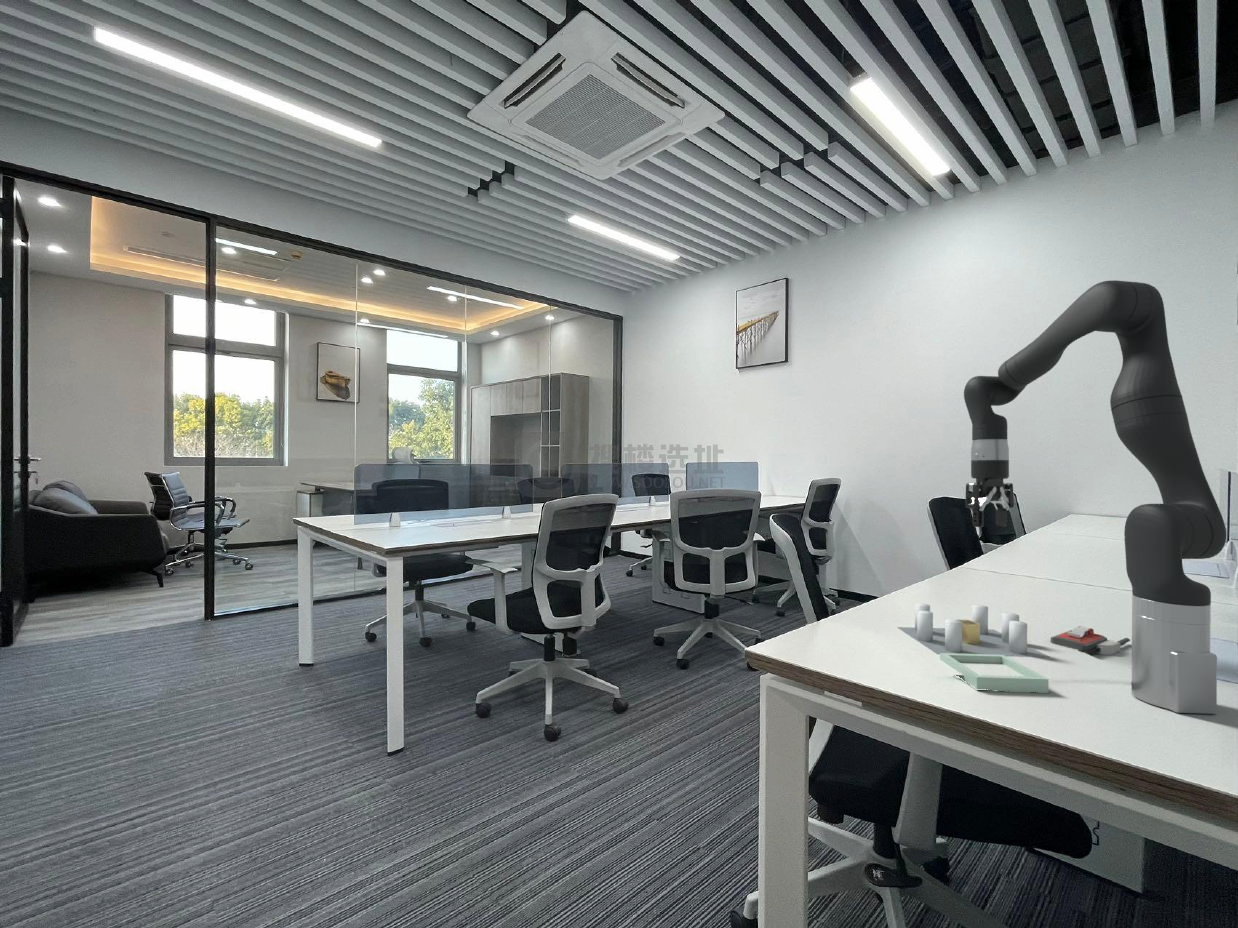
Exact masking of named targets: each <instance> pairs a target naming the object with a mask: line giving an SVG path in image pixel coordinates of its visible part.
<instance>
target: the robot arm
mask: <svg viewBox="0 0 1238 928" xmlns="http://www.w3.org/2000/svg"><path fill="white" fill-rule="evenodd" d="M1094 332H1102V333H1113V334H1115V335H1116V337H1117V340H1118V342H1119V346H1120V351H1121V355H1122V365H1121V369H1120V373H1119V374H1118V377H1117V378H1116V381H1115V383H1114V385H1113V388H1112V391H1111V394H1110V399H1109V400H1110V401H1109V404H1110V411H1111V415H1112V419H1113V423H1114V427H1115V428H1114V429H1115V432H1116V435H1117V436H1118V438H1119V440H1120V441H1121V443H1122V444H1123V445H1124V446H1125V447H1126V449H1127V450H1128V451H1129V452H1130V453H1131V454H1132V455H1133V456H1134V457H1135V458H1136V459H1137V460H1138V461H1139V462H1140V464H1142V465H1143V466H1144V467H1145V469H1146V470H1147V472H1149V474H1150V475H1151V476H1152V478H1153V479H1154V481H1155V482H1156V484H1157V487H1158V490H1159V493H1160V496H1161V499H1162V503H1145V504H1144V503H1143V504H1140V505H1137V506H1136V507H1134V508H1133V509H1132V510H1131V511H1130V512H1129V513H1128V515H1127V518H1126V521H1125V525H1124V551H1125V565H1126V566H1125V567H1126V568H1125V569H1126V574H1127V577H1128V580H1129V582H1130V584H1131V587H1132V588H1131V589H1132V590H1131V592H1132V593H1131V597H1132V599H1131V604H1132V605H1131V610H1132V611H1131V694H1132V696H1133V697H1135V698H1137V699H1138V700H1140V701H1142V702H1145V703H1148V704H1151V705H1153V706H1156V707H1160V708H1164V709H1166V710H1171V711H1173V712H1174V713H1177V714H1178V713H1181V714H1184V713H1185V714H1205V715H1206V714H1207V715H1209V714H1210V715H1217V712H1218V711H1217V703H1218V702H1217V701H1218V699H1217V698H1218V697H1217V696H1218V695H1217V693H1218V692H1217V690H1218V686H1217V685H1218V657H1217V655H1216V653H1213V652H1211V620H1212V619H1211V617H1212V616H1211V614H1212V613H1211V612H1212V611H1211V609H1212V608H1211V603H1212V593H1211V590H1210V587H1208V586H1207V585H1206V584H1203V583H1201V582H1198V581H1195V580H1193V579H1191V578H1190V577H1188V576H1187V575H1186V574H1185V570H1184V565H1183V560H1204V559H1210V558H1214V557H1215V556H1217V555H1218V554H1220V553H1221V552H1222V551H1223V549H1224V547H1225V545H1226V540H1227V528H1226V524H1225V521H1224V518H1223V515H1222V513H1221V510H1220V508H1219V506H1218V503H1217V501H1216V499H1215V496H1214V494H1213V491H1212V490H1211V487H1210V485H1209V482H1208V480H1207V478H1206V476H1205V472H1204V470H1203V466H1202V463H1201V460H1200V457H1199V454H1198V452H1197V451H1198V450H1197V448H1196V444H1195V441H1194V438H1193V435H1192V432H1191V427H1190V422H1189V418H1188V414H1187V409H1186V406H1185V403H1184V399H1183V394H1182V392H1181V389H1180V386H1179V384H1178V380H1177V376H1176V371H1175V367H1174V366H1175V365H1174V362H1173V358H1172V355H1171V351H1170V345H1169V339H1168V329H1167V321H1166V311H1165V305H1164V301H1163V297H1162V295H1161V292H1160V291H1159V290H1158V289H1157V288H1156V287H1155V286H1153V285H1151V284H1149V283H1146V282H1137V281H1127V280H1115V279H1114V280H1103V281H1100V282H1098V283H1096V284H1093V285H1092V286H1091V287H1089V288H1088V289H1087V290H1086V291H1084V292H1083V293H1082V294H1081V295H1080V296H1078V297H1077V299H1076V300H1075V301H1074V302H1072V303H1071V304H1070V305H1069V307H1067V308H1066V309H1065V310H1064V311H1063V312H1062V313H1061V314H1060V315H1059V316H1057V318H1056V319H1055V320H1054V321H1053V322H1052V323H1051V324H1050V325H1049V326H1048V327H1047V328H1046V329H1045V330H1043V332H1042V333H1041V334H1040V335H1039V336H1037V337H1036V338H1035V339H1033V341H1031V342H1030V343H1029V344H1028V345H1026V346H1024V348H1022V349H1020V350H1019V351H1018V352H1016V353H1015V354H1014V355H1012V356H1011V357H1010V358H1008V359H1007V360H1005V361H1004V362H1003V363H1002V364H1000V366H999V367H998V370H997V375H998V376H993V375H992V376H991V375H990V376H988V375H977V376H973V377H971V378H970V379H969V380H968V381H967V383H966V384H965V386H964V390H963V400H964V403H965V406H966V409H967V412H968V416H969V419H970V421H971V424H972V426H971V437H972V438H971V448H970V474H971V475H970V476H971V478H972V479H975V482H967V483H966V484H965V503H964V504H965V505H964V506H965V508H967V509H970V511H972V516H971V517H972V520H971V521H972V526H973V527H974V528H984V526H985V507H986V506H987V505H989V504H990V503H991V504H993V506H994V508H995V525H996V527H997V526H998V527H1006V526H1007V525H1008V515H1007V514H1008V511H1009V510H1010V509H1011V508H1012V509H1013V508H1014V507H1015V505H1014V502H1015V501H1014V498H1015V497H1014V484H1013V483H1012V482H1010V483H1009V482H1004V480H1007V479H1009V477H1010V448H1009V443H1008V419H1007V418H1006V417H1005V416H1004V415H1002V414H1001V415H1000V414H997V413H996V412H994V410H993V406H995V407H996V406H997V407H998V406H999V407H1000V406H1004V405H1006V404H1009V403H1011V402H1014V400H1015V399H1016V398H1017V397H1018V396H1019V395H1020V394H1021V393H1022V392H1023V391H1024V390H1025V388H1026V387H1027V386H1028V385H1029V384H1031V383H1033V382H1035V381H1036V380H1038V379H1039V378H1041V377H1042V376H1044V375H1045V374H1047V373H1048V372H1049V371H1051V370H1052V369H1053V368H1054V367H1055V366H1056V365H1057V364H1058V362H1059V361H1060V360H1061V358H1062V356H1063V355H1064V351H1065V350H1066V349H1067V348H1068V346H1070V345H1071V344H1073V343H1074V342H1075V341H1077V340H1078V339H1081V338H1082V337H1085V336H1087V335H1090V334H1091V333H1094ZM1007 501H1008V502H1007Z"/></svg>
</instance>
